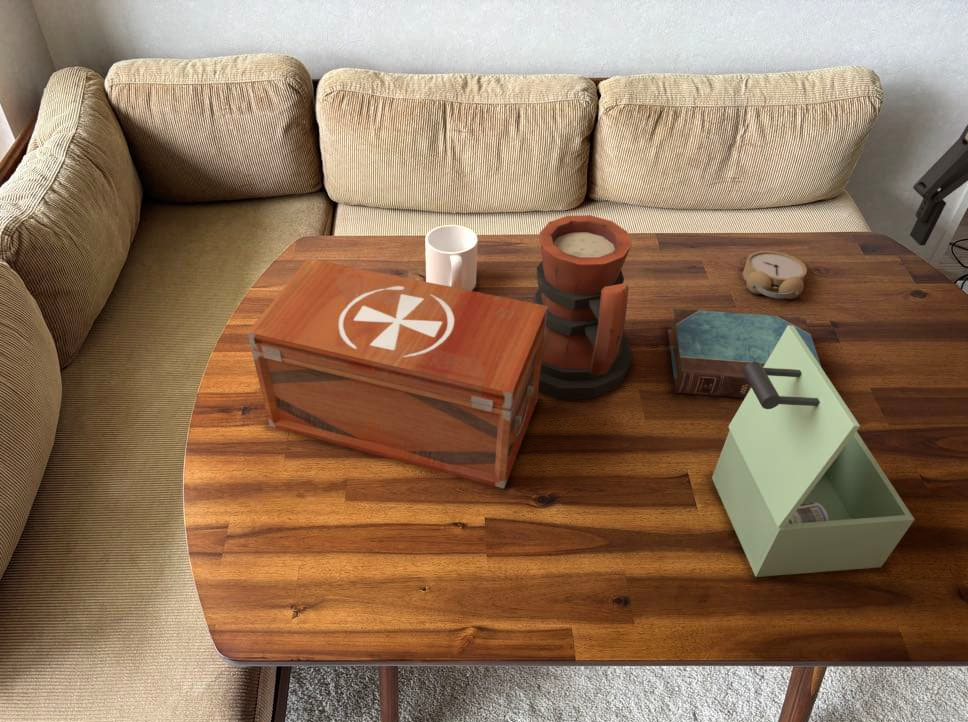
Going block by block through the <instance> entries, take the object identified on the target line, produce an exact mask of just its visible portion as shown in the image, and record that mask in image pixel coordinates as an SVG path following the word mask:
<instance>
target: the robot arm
mask: <svg viewBox="0 0 968 722" xmlns="http://www.w3.org/2000/svg"><path fill="white" fill-rule="evenodd" d="M967 182H968V124H967V125H965V127H964V129H963V131H962V132H961V134H960V136H959V138H958V139H957V140H956V141H955V142H954V143H953V144H952V145H951V146H950V147H949V148H948V149H947V150H946V151H945V153H943V154H942V155H941V157H940V158H939V159H938V160H936V162H935V163H934V164H933V165H932V166H931V167H930V168H929V169H928V170H927V171H926V172H925V173H924V174H923V175H922V176H921V177H920V178H919V179H918V180H917V181H916V182H915V183H914V185H913V186H912V189H913V190H914V191H915V192H916V193H917V194H918V195H919V196H921V198H922V200H921V202H920V204H919V206H918V208H917V210H916V213H915V218H917V219H916V221H915V223H914V225H913V226H912V229H911V231H910V233H909V236H910V237H911V238H912V239H913V240H914V241H915V242H916V243H917V244H918V245H919V246H926V244H927V242H928V241H929V239H930V236H931V234H932V233H933V230H934V229H935V227H936V225H937V223H938V221H939V219H940V217H941V215H942V213H943V211H944V209H945V207H946V206H947V201H945V200H944V199H945V198H947V197H948V196H949V195H951V194H952V193H954V192H955V191H956V190H957V189H959V188H961V187H962V186H963V185H964V184H966V183H967ZM939 189H940V190H939Z"/></svg>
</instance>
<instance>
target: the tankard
mask: <svg viewBox="0 0 968 722" xmlns="http://www.w3.org/2000/svg"><path fill="white" fill-rule="evenodd" d="M539 241H540V251H541V252H540V253H541V262H540V263H539V264H538V265H537V267H536V281H537V286H538V287H537V288H538V290H537V291H536V293H535V294H534V297H533V301H532V303H535V304H540V305H545V306H548V307H547V316H546V323H545V324H546V327H545V335H544V343H543V352H542V361H541V370H540V379H539V387H538V393H541V394H544V395H546V396H550V397H552V398H555V399H558V400H583V399H585V400H588V399H590V400H591V399H595V398H597V397H600V396H601V395H603V394H606V393H608V392H611V391H612V390H615V389H617V388H619V387H620V385H622V382H623V381H624V379H625V378H626V376H627V374H628V372H629V370H630V368H631V366H632V361H633V352H632V349H631V346H630V343H629V342H630V341H629V339H628V335H627V334H626V333H625V332H624V329H625V324H626V317H627V310H628V309H627V308H628V298H629V289H630V286H628V285H627V284H626V283H624V281H625V277H624V274H623V271H622V269H623V267H624V264H625V262H626V259H627V258H628V255H629V252H630V250H631V247H632V242H631V239H630V236H629V234H628V230H625V229H624V228H623V227H621V226H620V225H618V224H617V223H615V222H614V221H613V220H609V219H606V218H602V217H598V216H594V215H591V214H590V215H589V214H587V215H586V214H585V215H582V214H581V215H580V214H579V215H566V216H562V217H560V218H559V217H558V218H556V219H553V220H551V221H548V223H547V224H546V225H545V226H544V227H543V228H542V229H541V231H540V232H539Z"/></svg>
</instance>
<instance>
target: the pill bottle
mask: <svg viewBox="0 0 968 722" xmlns="http://www.w3.org/2000/svg"><path fill="white" fill-rule="evenodd" d="M821 521H829V518H828V515H827V512H826V510H825V509H824V508H823V507H822V506H821V505H820V504H818V503H816V502H813V503H806V504H801V505H800V506H799V508H798V509H797V510H796V512H795V513H794V514H793V516H792V517H791V518H790V520H789V521H788V522H787V524H795V523H808V522H821Z"/></svg>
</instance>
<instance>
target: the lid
mask: <svg viewBox="0 0 968 722" xmlns="http://www.w3.org/2000/svg"><path fill="white" fill-rule="evenodd" d="M820 365H821V364H820ZM820 365H819V363H818V362H817V360H816V359H815V357H814V356H813V354H812V353H811V351H810V350H809V348H808V347H807V345H806V344H805V342H804V341H803V339H802V338H801V336H800V335H799V333H798V332H797V330H796V329H795V327H794V326H790V325H788V326H787V328H786V329H785V331H784V333H783V335H782V336H781V338H780V340H779V341H778V343H777V345H776V346H775V348H774V350H773V352H772V353H771V355H770V357H769V358H768V360H767V362H766V363H765V365H764V367H762V365H761V364H760V363H759V362H751V363H748V364H747V365H746V366H745V367H744V368H743V373H744V375H745V377H746V379H747V380H748V382H749V384H750V386H751V389H750V391H749V392H748V394H747V396H746V397H745V398H743V401H742V402H741V404H740V406H739V408H738V409H737V411H736V413H735V414H734V416H733V418H732V419H731V422H730V423H729V424H728V426H727V427H728V429H729V431H731V433H732V435H733V437H734V440H735V442H736V444H737V446H738V448H739V450H740V452H741V454H742V456H743V458H744V460H745V462H746V464H747V466H748V468H749V470H750V472H751V474H752V476H753V478H754V480H755V482H756V484H757V486H758V488H759V490H760V492H761V494H762V496H763V498H764V500H765V502H766V504H767V506H768V508H769V510H770V512H771V514H772V516H773V518H774V520H775V523H776V525H777V527H781V528H783V527H784V526H785V525H786V524H787V522H788V521H789V520H790V518H791V517H792V516H793V514H794V513H795V512H796V510H797V509H798V508H799V506H800V505H801V504H802V502H803V501H804V500H805V499H806V497H807V496H808V495H809V493H810V492H811V491H812V489H813V488H814V487H815V485H816V484H817V483H818V481H819V480H820V479H821V477H822V476H823V475H824V473H825V472H826V471H827V469H828V468H829V467H830V466H831V464H832V463H833V462H834V460H835V459H836V458H837V456H838V455H839V454H840V452H841V451H842V450H843V448H844V447H845V446H846V444H847V443H848V442H849V440H850V439H851V438H852V436H853V435H854V434H855V433H856V431H857V432H858V430H859V429H860V427H861V425H860V423H859V422H858V420H857V419H856V417H855V416H854V415H853V413H852V412H851V410H850V409H849V407H848V405H847V404H846V402H845V401H844V399H843V397H842V396H841V395H840V393H839V392H838V390H837V389H836V387H835V386H834V385H833V383H832V381H831V380H830V378H829V377H828V375H827V374H826V372H825V371H824V369H823V368H822V365H821V366H820Z"/></svg>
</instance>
